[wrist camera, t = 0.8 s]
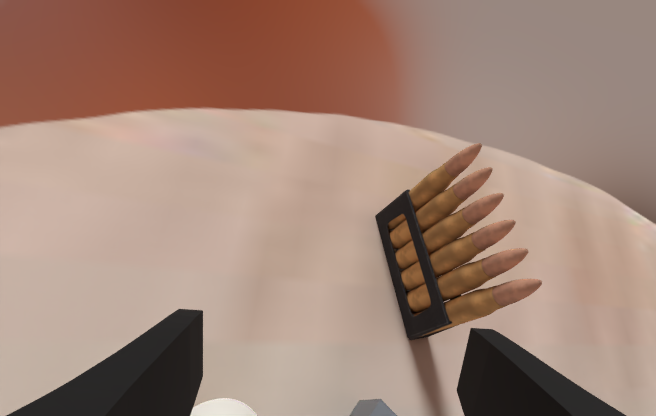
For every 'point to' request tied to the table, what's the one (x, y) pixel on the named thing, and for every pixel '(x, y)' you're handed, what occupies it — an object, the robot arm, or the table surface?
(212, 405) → the white rounded egg shape
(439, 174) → the ammunition clip
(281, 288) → the table surface
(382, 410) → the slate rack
